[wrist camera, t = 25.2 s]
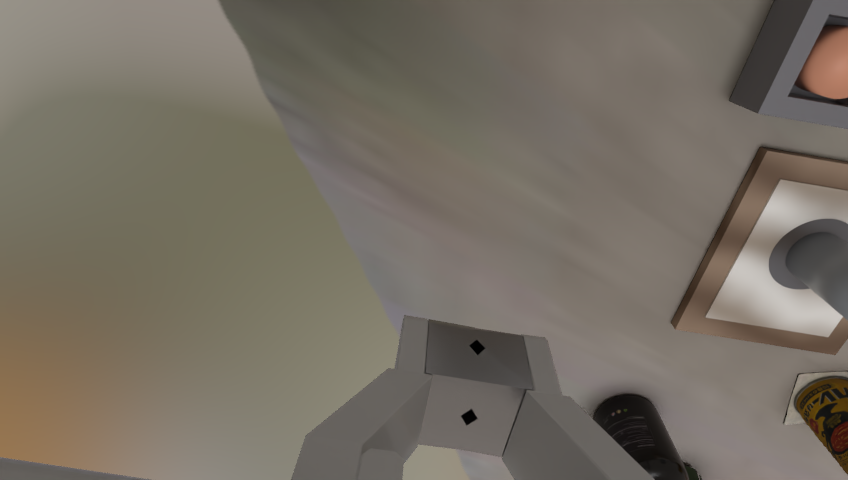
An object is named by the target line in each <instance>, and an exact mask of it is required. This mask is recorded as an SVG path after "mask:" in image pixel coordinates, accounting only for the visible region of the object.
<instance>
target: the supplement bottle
mask: <svg viewBox="0 0 848 480" xmlns="http://www.w3.org/2000/svg"><path fill="white" fill-rule="evenodd" d="M594 421H595V422H596V423H597V424H598V425H599V426H600V427H601V428H602V429H603V430H604V431H605V432H607V433H608V434H609V435H610V436H611V437H612V438H613V439H614V440H615V441H616V442H617V443H618V444H619V445H620V446H621V447H622V448H623V449H624V450H625V451H626V452H627V453H628V454H629V455H630V456H631V457H632V458H633V459H634V460H635V461H636V462H637V463H638V464H639V465H640V466H641V467H642V468H643V469H644V470H645V471H646V472H648V473H649V474H650V475H651V476H652V477H653V478H654V479H655V480H689V477H688V474H687V471H686V469H685V466H684V464H683V462H682V460H681V458H680V456H679V454H678V452H677V450H676V448H675V446H674V444H673V442H672V440H671V438H670V436H669V434H668V432H667V430H666V428H665V425H664V423H663V421H662V419H661V417H660V415H659V413H658V412H657V410H656V408H655V407H654V405H653V404H652V403H651V402H649V401H648V400H646V399H644V398H642V397H639V396H634V395H623V396H618V397H614V398H612V399H610V400H608V401H606V402H605V403H604V404H602V405H601V406H600V407H599V409H598V410H597V412H596V414H595V419H594Z"/></svg>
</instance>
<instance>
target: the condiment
mask: <svg viewBox="0 0 848 480" xmlns="http://www.w3.org/2000/svg"><path fill="white" fill-rule="evenodd" d="M801 423H803V424H807V425H808V426H809V427H810V428H811V430H812V431H813V432H814V433H815V435H816V436H817V437H818V439H819V440H820V441H821V442H822V443H823V445H824V446H825V447H826V448H827V449H828V451H829V452H830V453H831V454H832V456H833V457H834V458H835V459H836V461H837V462H838V463H839V464H840V466H841V467H842V468H843V470H844V471H845V472H846V473H847V474H848V372H825V373H806V374H800V375H799V376H798V379H797V382H796V384H795V388H794V390H793V394H792V396H791V400H790V403H789V407H788V411H787V416H786V420H785V423H784V425H789V424H801Z"/></svg>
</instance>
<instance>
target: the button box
mask: <svg viewBox="0 0 848 480" xmlns="http://www.w3.org/2000/svg"><path fill="white" fill-rule="evenodd" d="M829 25H844V26H848V0H775V1H774V3H773V5H772V7H771V9H770V12H769V14H768V16H767V18H766V20H765V23H764V25H763V27H762V29H761V31H760V34H759V36H758V38H757V40H756V42H755V45H754V47H753V49H752V51H751V53H750V56H749V58H748V60H747V62H746V65H745V67H744V69H743V71H742V73H741V76H740V78H739V80H738V82H737V84H736V87H735V89H734V91H733V93H732V95H731V98H730V100H729V101H730V102H733V103H735V104H737V105H739V106H742V107H744V108H746V109H749V110H751V111H753V112H756V113H758V114H764V115H770V116H775V117H781V118H787V119H793V120H798V121H804V122H810V123H816V124H821V125H827V126H833V127H839V128H844V129H848V98H843V99H831V98H828V97H824V96H821V95H818V94H815V93H811V92H808V91H805V90H802V89H800V88H798V87H797V86H796V85H795V84H794V83H795V81H796V79H797V77H798V75H799V73H800V71H801V69H802V67H803V65H804V63H805V61H806V59H807V57H808V55H809V53H810V51H811V49H812V48H813V46H814V44H815V42H816V40H817V38H818V36H819V34H820V32H821V30H822V28H823V27H825V26H829Z"/></svg>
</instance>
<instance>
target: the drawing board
mask: <svg viewBox="0 0 848 480" xmlns="http://www.w3.org/2000/svg"><path fill="white" fill-rule="evenodd" d="M817 232H828V233H831V234H834V235H836V236H837V237H839V238H840V239H842V240H843V241H845V242H846V243H848V162H845V161H840V160H834V159H828V158H822V157H816V156H810V155H805V154H799V153H793V152H787V151H781V150H776V149H770V148H764V147H760V148H759V150H758V152H757V154H756V156H755V158H754V160H753V162H752V164H751V166H750V168H749V170H748V172H747V174H746V176H745V178H744V180H743V182H742V184H741V186H740V188H739V190H738V192H737V194H736V196H735V198H734V200H733V202H732V204H731V206H730V208H729V209H728V211H727V213H726V215H725V217H724V219H723V221H722V223H721V225H720V227H719V229H718V231H717V233H716V235H715V237H714V239H713V241H712V243H711V245H710V247H709V249H708V251H707V253H706V255H705V257H704V259H703V261H702V263H701V265H700V267H699V269H698V271H697V273H696V275H695V277H694V279H693V281H692V282H691V284H690V286H689V288H688V290H687V292H686V294H685V296H684V298H683V300H682V302H681V304H680V306H679V308H678V310H677V312H676V314H675V316H674V318H673V320H672V322H671V324H672V325H673V327H674V328H675V329H676V330H683V331H689V332H695V333H701V334H707V335H714V336H720V337H726V338H732V339H739V340H745V341H751V342H757V343H764V344H770V345H776V346H782V347H789V348H795V349H801V350H807V351H814V352H820V353H826V354H832V355H836V353H837V352H838V351H839V349H840V348H841V347H842V345H843V344H844V343H845V341H846V340H847V339H848V320H846V319H845V318H844V317H843V316H842V315H841V314H839V313H838V312H837V311H836V310H835V309H833V308H832V307H831V306H830V305H829V304H828V303H826V302H825V301H824V300H823V299H822V298H821V297H819V296H818V295H817V294H816V293H815V292H813V291H812V290H811V289H810V288H809V287H808V286H806V285H805V284H804V283H803V282H802V281H801V280H799V279H798V278H797V277H796V276H795V275H794V274H792V273H791V272H790V271H789V270H788V268H787V266H786V256H787V253H788V251H789V249H790V248H791V247H792V246H793V245H794V244H795V243H796V242H797V241H798V240H800V239H801V238H803V237H805V236H807V235H809V234H812V233H817Z"/></svg>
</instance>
